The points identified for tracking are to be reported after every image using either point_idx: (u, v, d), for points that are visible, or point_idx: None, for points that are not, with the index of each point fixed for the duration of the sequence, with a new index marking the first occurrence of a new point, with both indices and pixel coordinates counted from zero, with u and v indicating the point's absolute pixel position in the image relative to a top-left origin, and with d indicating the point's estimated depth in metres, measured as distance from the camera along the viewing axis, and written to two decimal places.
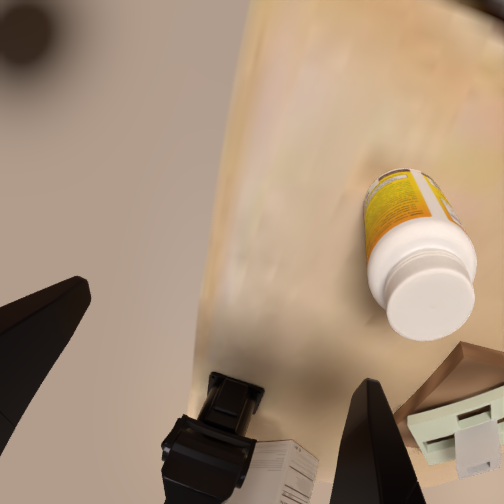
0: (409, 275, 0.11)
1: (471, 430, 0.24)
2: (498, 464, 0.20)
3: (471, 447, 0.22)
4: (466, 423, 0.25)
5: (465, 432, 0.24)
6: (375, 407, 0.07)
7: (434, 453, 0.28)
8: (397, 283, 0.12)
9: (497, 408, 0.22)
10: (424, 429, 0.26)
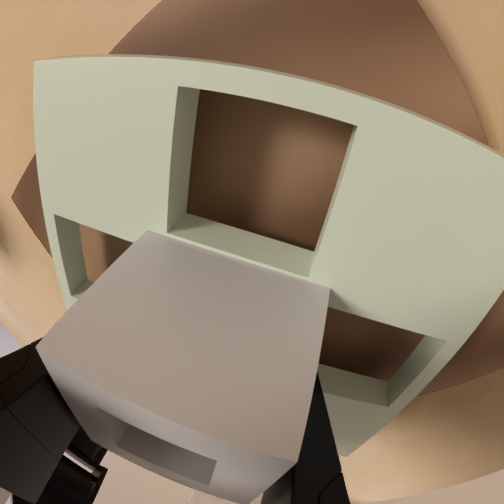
0: None
1: None
2: (223, 439, 0.04)
3: None
4: None
5: None
6: None
7: None
8: None
9: (83, 205, 0.09)
10: None
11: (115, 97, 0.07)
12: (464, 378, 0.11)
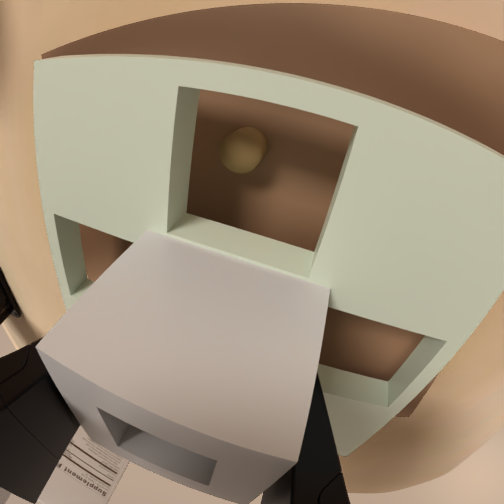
0: None
1: None
2: (223, 439, 0.04)
3: None
4: None
5: None
6: None
7: None
8: None
9: (83, 205, 0.09)
10: None
11: (115, 97, 0.07)
12: None
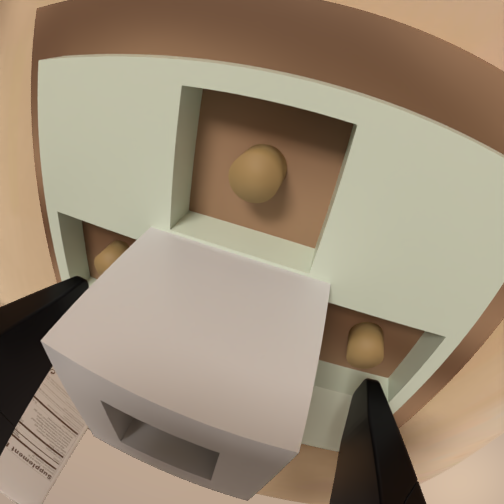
0: None
1: None
2: (226, 430, 0.05)
3: None
4: None
5: None
6: (375, 407, 0.07)
7: None
8: None
9: (87, 203, 0.09)
10: None
11: (119, 96, 0.07)
12: None
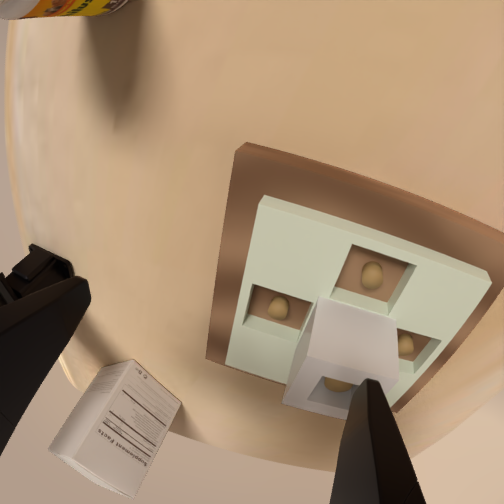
0: None
1: (302, 335, 0.20)
2: (377, 375, 0.14)
3: (295, 362, 0.18)
4: (301, 328, 0.21)
5: (298, 342, 0.20)
6: (375, 407, 0.07)
7: None
8: None
9: (280, 282, 0.19)
10: (250, 361, 0.23)
11: (318, 240, 0.16)
12: None
